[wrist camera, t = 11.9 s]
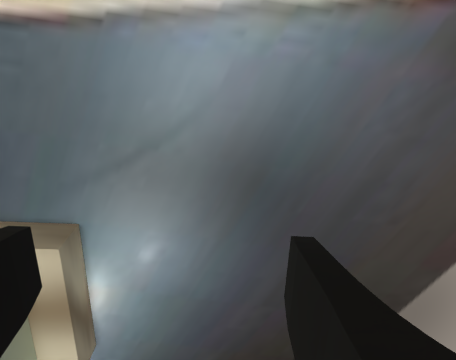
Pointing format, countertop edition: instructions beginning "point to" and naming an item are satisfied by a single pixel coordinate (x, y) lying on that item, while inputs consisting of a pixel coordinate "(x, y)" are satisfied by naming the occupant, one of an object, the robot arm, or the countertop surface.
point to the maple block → (60, 294)
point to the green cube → (21, 345)
